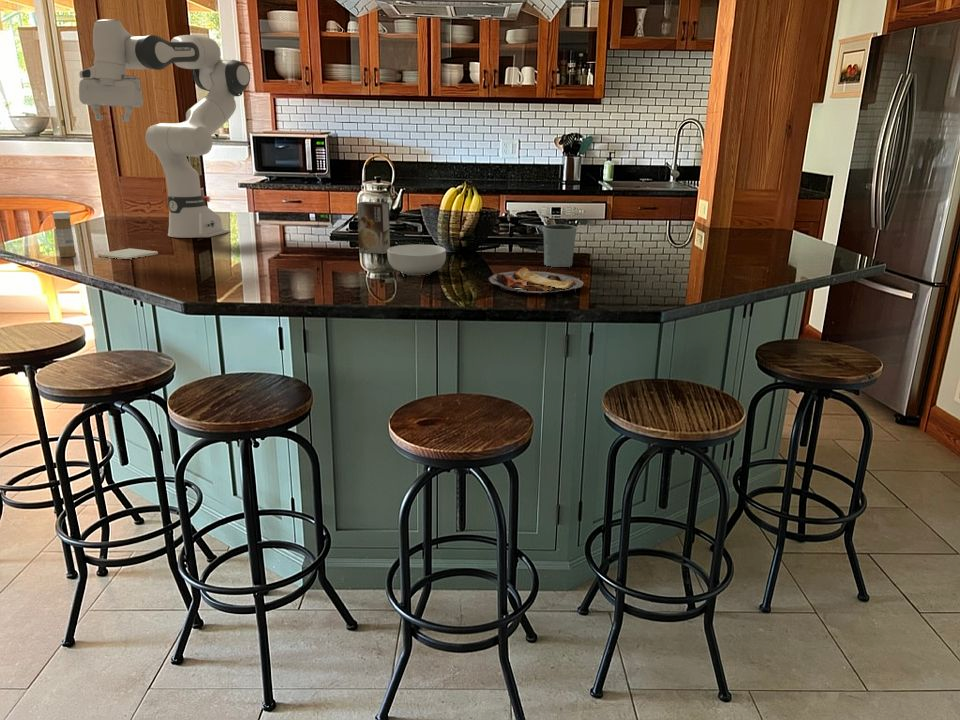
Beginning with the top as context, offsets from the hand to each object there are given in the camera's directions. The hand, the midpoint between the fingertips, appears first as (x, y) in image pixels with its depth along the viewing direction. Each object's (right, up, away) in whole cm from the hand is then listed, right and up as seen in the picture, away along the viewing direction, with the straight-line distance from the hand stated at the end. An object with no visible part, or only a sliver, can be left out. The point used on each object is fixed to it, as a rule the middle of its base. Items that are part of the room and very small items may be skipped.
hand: (112, 121), depth 227 cm
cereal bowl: (+98, -51, -21) cm, 113 cm away
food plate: (+131, -56, -34) cm, 147 cm away
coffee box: (+81, -40, +11) cm, 91 cm away
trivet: (+7, -43, -4) cm, 44 cm away
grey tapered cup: (+140, -47, -5) cm, 148 cm away
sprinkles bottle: (-10, -44, -7) cm, 46 cm away
